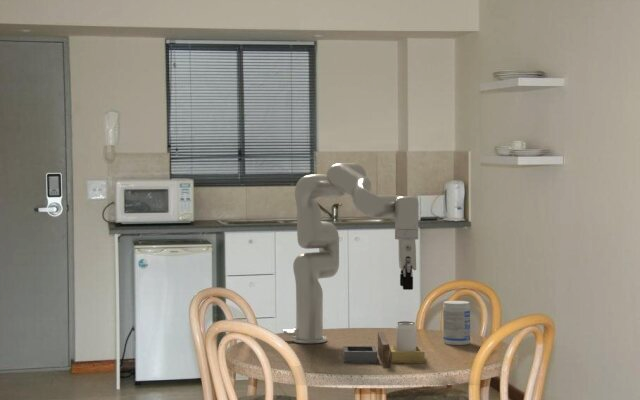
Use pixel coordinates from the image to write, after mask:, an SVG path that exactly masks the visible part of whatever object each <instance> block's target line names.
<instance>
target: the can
mask: <svg viewBox="0 0 640 400" xmlns="http://www.w3.org/2000/svg"><path fill="white" fill-rule="evenodd" d="M395 336H396V337H395V346H396V351H416V346H417V326H416V322H414V321H405V320H404V321H403V320H402V321H398V322H397V325H396V328H395Z"/></svg>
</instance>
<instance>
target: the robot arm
mask: <svg viewBox="0 0 640 400" xmlns="http://www.w3.org/2000/svg"><path fill="white" fill-rule="evenodd" d="M371 189H372V182H371V179H369V178H368V177H367V172H366V170H365V168H364V167H363V166H362V165H361V164H358V163H352V162H349V163H348V162H339V163H335V164H332V165H331V166H330V167H328V169H327V171H326V174H322V173H321V174H319V173H317V174H315V173H314V174H307V175H304V176H302V177H300V179H299V180H298V181H297V183H296V184H295V188H294V199H295V205H296V227H297V228H296V235H297V236H296V237H297V243H298V246H299V247H301V248H302V249H307V250H311V249H312V250H314V249H318V251H317V252H316V251H314V252H304V253H301V254H299V255H297V256H296V258H295V259H294V261H293V264H292V265H293V269H292V270H293V274H294V279H295V302H296V303H295V307H296V308H295V312H296V313H295V317H296V318H295V320H296V321H295V322H296V323H295V328H293V329H283V336H292V337H291V341H292V342H293V343H298V344H320V343H321V344H322V343H326V342H327V341H328V338H327V336H324V315H323V314H324V310H323V309H324V308H323V307H324V305H323V304H324V297H323V296H324V294H323V293H324V291H323V288H322V286H321V283H320V281H319V279H320V280H321V279H327V278H328V279H329V278H332V277H334V276H335V275H336V274H337V273H338V272H339V271H338V270H339V267H340V236H339V231H338V228H337V227H336V226H335V224H333V223H332V222H330V221H322V218H321V217H322V216H321V215H322V214H321V213H322V211H321V207H320V205H319V203H318V202H317V200H316V199H338V198H340V197H343V196H345V195H346V196H348V197H350V198H351V199H352V202H353V205H354V206H355V208H356V209H357V210H358V211H360V212H361V213H362V214H365V215H366V216H368V217H370V218H372V219H376V220H378V219H394V239H395V240H397V241H398V264H399V265H398V266H399V269H400V274H399V285H400V287H402V290H403V291H404V290H406V291H407V290H408V291H409V290H410V291H411V290H412V291H413V289H414V277H413V276H414V275H413V271H416V270H417V244H416V243H417V242H416V240H419V199H418V197H416V196H412V195H411V196H408V195H405V196H404V195H402V196H401V195H398V194H395V195H394V194H387V195H386V194H382V195H381V194H380V195H377V194H374V193H372V192H371Z"/></svg>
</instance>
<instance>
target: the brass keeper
mask: <svg viewBox="0 0 640 400" xmlns="http://www.w3.org/2000/svg"><path fill="white" fill-rule="evenodd" d="M389 361H390V362H391V364H393V363H394V364H397V363H398V364H411V363H412V364H414V363H415V364H420V363H421V364H423V363H425V350H424V349H423V347H422V346H421V345H416V351H396V345H389Z"/></svg>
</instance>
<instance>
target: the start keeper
mask: <svg viewBox="0 0 640 400" xmlns="http://www.w3.org/2000/svg"><path fill="white" fill-rule="evenodd" d="M342 352H343V353H342V354H343V356H342V357H343V363H344V364H355V363H356V364H357V363H358V364H377V363H378V349H377V347H376V345H343V351H342Z"/></svg>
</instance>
